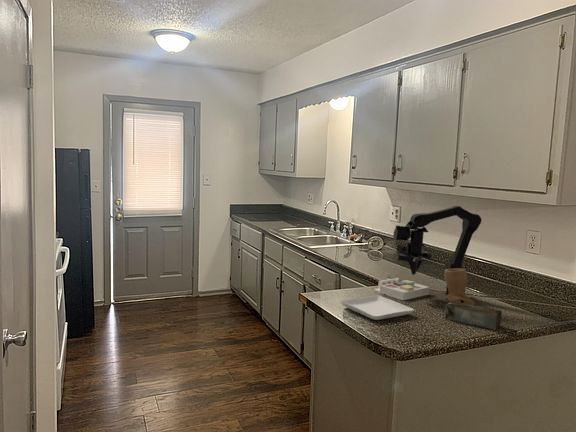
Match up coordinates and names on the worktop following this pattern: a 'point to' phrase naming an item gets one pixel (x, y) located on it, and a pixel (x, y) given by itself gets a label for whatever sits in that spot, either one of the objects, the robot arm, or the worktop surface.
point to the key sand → (407, 287)
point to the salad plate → (377, 307)
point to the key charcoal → (399, 283)
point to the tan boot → (457, 285)
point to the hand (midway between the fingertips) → (413, 274)
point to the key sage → (408, 282)
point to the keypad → (401, 290)
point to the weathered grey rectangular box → (473, 315)
